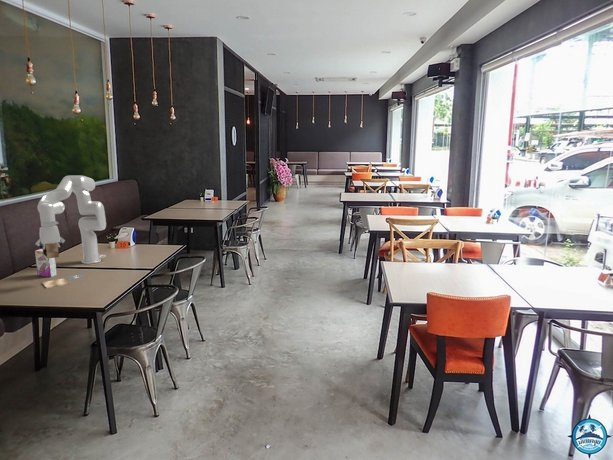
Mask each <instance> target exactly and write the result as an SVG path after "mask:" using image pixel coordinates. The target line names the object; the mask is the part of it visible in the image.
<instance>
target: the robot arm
mask: <svg viewBox="0 0 613 460" xmlns="http://www.w3.org/2000/svg"><path fill="white" fill-rule="evenodd" d="M95 188H96V182H95V180H94V179H93V178H91V177H88V176H86V175H79V174H78V175H66V176H64V177H63V178H62V180H60V183H59V184H58V185H57V187H56V189H52V190H51V191H49V192H47V193H45V194H44V195H43V196H42V197H41V198H40V200H39V201H38V204H37V211H38V213H39V218H40V226H41V227H39V239H38V240H37V241H36V242H35V246H37V247H39V249H43V255H45V256H47V253H46V249H45V247H46V245H47V244H54V243H57V244H58V252H59V253H61V246H62V245H63V244H64V243H65V242H66V239H64V237H62V236H61V235H60V231H59V228H58V225H59V221H57V220H56V215H60V214H63V212H64V211H65V209H66V205H65V203H63V202H62V201H64V200H66V199H67V200H68V199H69V198H70V196H71V195H72V193H74V195H75V197H76V201H77V202H76V203H77V208H78V211H79V214H80V215H81V216H83V217H80V218H79V220H78V221H77V222H78V224H77V225H78V228H79V230H80V231H79V232H80V236H81V237H80V238H81V247H82V248H81V249H82V258H83V259H82V260H81V262H80V263H82V264H85V265H89V264H91V265H92V264H97V263H100V262H101V261H102V258H106V257H107V255H106V254H99V248H98V238H97V234H96V232H95V231H104V230H105V229H106V228H107V218H106V212H105V206H104V205H103V203H102V202H101V201H98V200H97V201H96V200H95V201H94V200H93V201H92V198H91V193H90V192H93V190H95Z"/></svg>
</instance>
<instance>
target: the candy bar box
mask: <svg viewBox="0 0 613 460" xmlns="http://www.w3.org/2000/svg"><path fill="white" fill-rule="evenodd" d="M34 255H35V256H34V257H35V264H36V272H37V276H39V277H47V278H53V277H55V276H58V273H57V265H56V258H49V259H47V258H46V257H45V255H43V249H42V248H39V249H36V250H34Z"/></svg>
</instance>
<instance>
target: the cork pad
mask: <svg viewBox="0 0 613 460" xmlns="http://www.w3.org/2000/svg"><path fill="white" fill-rule="evenodd" d="M41 284H42V285H43V286H44V288H45V289H50V288H56V287H62V286H66V285H70V284H69V282H68V281H67V280H66V279H65V278H59V279H52V280H47V281H43V282H41Z"/></svg>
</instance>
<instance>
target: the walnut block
mask: <svg viewBox="0 0 613 460" xmlns="http://www.w3.org/2000/svg"><path fill="white" fill-rule="evenodd" d="M45 249H46V253H47V256H45V257H46V258H47V259H49V258H55V259H56V258H59V257H60V252H58V244H57V243H54V244H47V245H46V247H45Z"/></svg>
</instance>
